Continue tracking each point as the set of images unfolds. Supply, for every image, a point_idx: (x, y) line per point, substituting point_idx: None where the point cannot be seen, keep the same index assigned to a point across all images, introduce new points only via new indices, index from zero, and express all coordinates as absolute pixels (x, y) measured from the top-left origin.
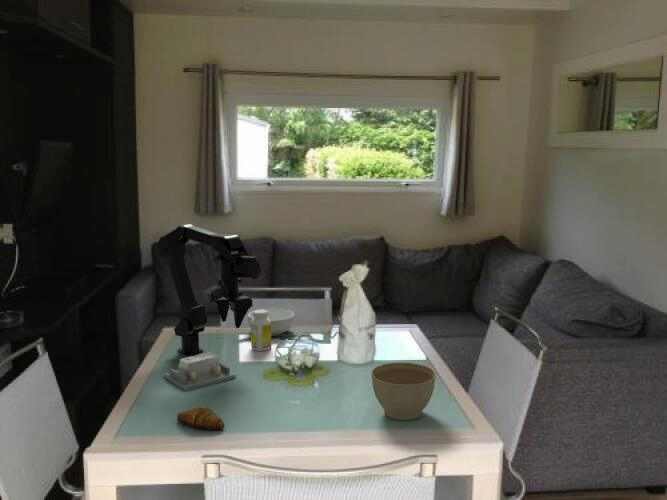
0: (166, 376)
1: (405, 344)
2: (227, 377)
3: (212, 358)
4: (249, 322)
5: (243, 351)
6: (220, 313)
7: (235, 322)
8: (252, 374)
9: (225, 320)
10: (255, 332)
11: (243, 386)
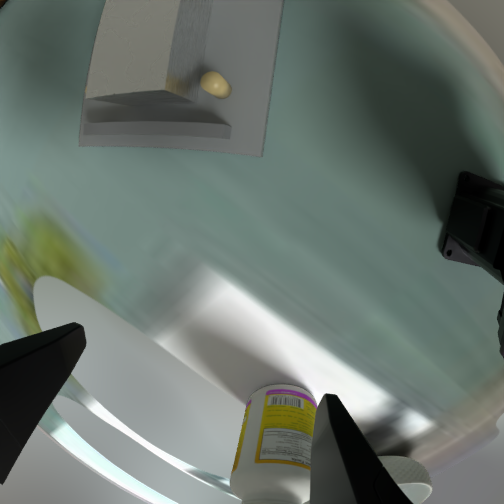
0: None
1: (115, 478)
2: (84, 112)
3: (93, 65)
4: (409, 469)
5: (311, 358)
6: (348, 450)
7: (37, 337)
8: (81, 211)
9: (316, 414)
10: (266, 438)
11: (35, 130)
